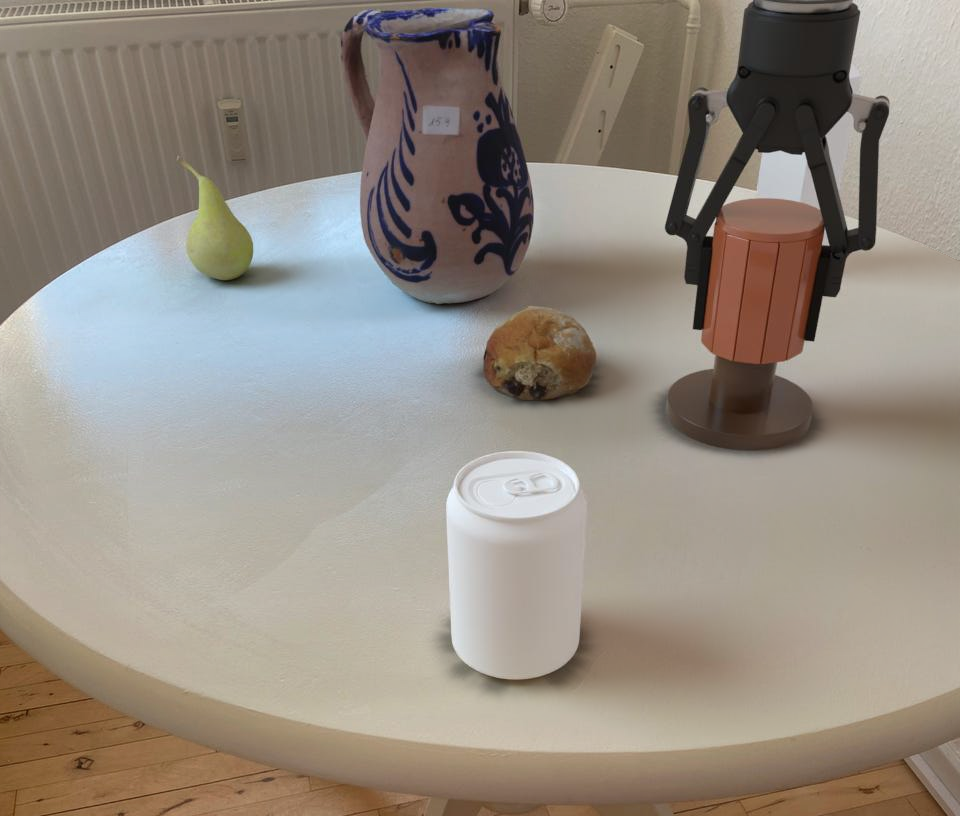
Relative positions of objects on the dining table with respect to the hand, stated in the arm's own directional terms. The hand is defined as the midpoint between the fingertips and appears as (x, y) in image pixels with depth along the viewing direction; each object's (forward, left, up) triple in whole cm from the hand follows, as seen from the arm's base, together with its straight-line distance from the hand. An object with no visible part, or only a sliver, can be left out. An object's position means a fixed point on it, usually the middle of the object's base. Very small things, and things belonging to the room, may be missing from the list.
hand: (754, 328), depth 85 cm
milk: (-1, -35, -8) cm, 36 cm away
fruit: (+57, -16, -8) cm, 60 cm away
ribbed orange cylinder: (0, 0, -1) cm, 1 cm away
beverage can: (+10, +34, -8) cm, 36 cm away
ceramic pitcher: (+34, -20, -8) cm, 40 cm away
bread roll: (+18, -2, -8) cm, 20 cm away
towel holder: (0, 0, -8) cm, 8 cm away
